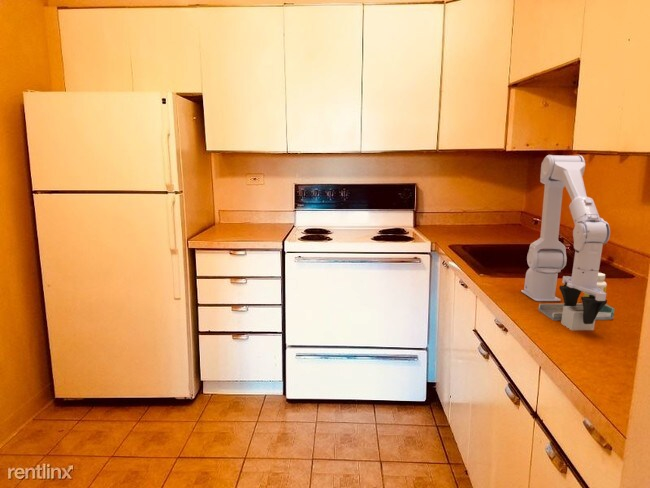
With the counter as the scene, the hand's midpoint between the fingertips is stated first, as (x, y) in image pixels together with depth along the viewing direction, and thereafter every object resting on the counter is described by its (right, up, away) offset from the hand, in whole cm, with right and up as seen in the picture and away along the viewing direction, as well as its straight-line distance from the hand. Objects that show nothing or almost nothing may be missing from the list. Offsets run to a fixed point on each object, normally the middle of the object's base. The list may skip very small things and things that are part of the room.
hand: (578, 317), depth 113 cm
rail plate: (+4, -1, +9) cm, 10 cm away
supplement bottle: (+14, +1, +17) cm, 22 cm away
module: (0, -3, +1) cm, 3 cm away
